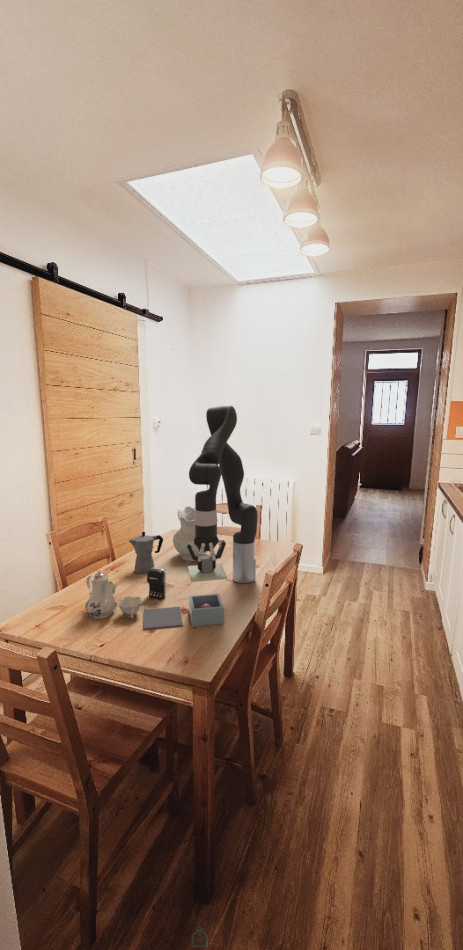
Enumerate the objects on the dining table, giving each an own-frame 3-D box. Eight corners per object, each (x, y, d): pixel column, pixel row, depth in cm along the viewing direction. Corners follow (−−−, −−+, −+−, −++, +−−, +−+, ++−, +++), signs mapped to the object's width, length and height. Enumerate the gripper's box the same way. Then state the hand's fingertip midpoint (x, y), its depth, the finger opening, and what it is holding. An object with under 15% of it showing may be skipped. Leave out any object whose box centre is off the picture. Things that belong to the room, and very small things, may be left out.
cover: (220, 565, 150) (220, 550, 149) (226, 579, 138) (226, 562, 137) (187, 568, 148) (187, 552, 147) (191, 582, 136) (190, 565, 135)
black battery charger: (146, 598, 160) (145, 569, 159) (151, 593, 164) (150, 566, 162) (162, 600, 158) (161, 572, 156) (166, 596, 162) (166, 568, 160)
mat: (180, 608, 152) (180, 606, 152) (182, 626, 140) (182, 624, 140) (144, 611, 150) (144, 609, 150) (143, 629, 137) (143, 628, 137)
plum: (210, 611, 148) (210, 601, 147) (212, 617, 144) (212, 606, 143) (199, 612, 147) (199, 602, 146) (201, 618, 143) (200, 607, 143)
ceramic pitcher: (223, 558, 206) (225, 509, 204) (199, 568, 190) (201, 514, 188) (189, 550, 218) (190, 503, 215) (164, 559, 201) (165, 508, 199)
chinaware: (150, 618, 148) (153, 573, 147) (111, 633, 135) (113, 583, 134) (105, 596, 166) (107, 555, 165) (66, 606, 153) (68, 562, 152)
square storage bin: (219, 608, 152) (219, 593, 151) (224, 623, 141) (224, 607, 140) (189, 611, 150) (188, 595, 149) (191, 626, 139) (191, 610, 138)
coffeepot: (131, 576, 181) (130, 536, 178) (128, 568, 190) (126, 530, 187) (166, 571, 187) (165, 532, 184) (161, 563, 196) (160, 527, 193)
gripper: (224, 518, 145) (224, 564, 148) (184, 520, 142) (185, 567, 145) (228, 524, 138) (228, 573, 141) (185, 526, 135) (187, 576, 138)
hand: (206, 570), depth 143 cm, fingers closed on cover, 3 cm apart
